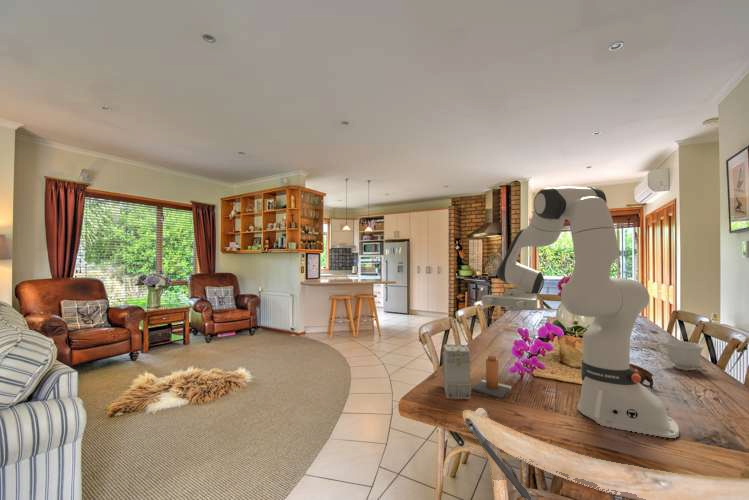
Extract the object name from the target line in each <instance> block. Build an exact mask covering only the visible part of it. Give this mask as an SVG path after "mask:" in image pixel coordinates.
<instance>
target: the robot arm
mask: <svg viewBox="0 0 749 500" xmlns="http://www.w3.org/2000/svg"><path fill="white" fill-rule="evenodd" d="M607 201H608V200H607V196H606V194H605V192H604V190H602V189H600V188H598V187H593V186H592V187H591V186H587V187H583V186H572V185H571V186H566V185H565V186H557V187H553V186H551V187H545V188H542V189H540V190H539V191H537V193H536V195H535V197H534V199H533V209H534V211H533V213H532V215H531V219H530V222H529V225H528V226H527V227H526V228H521V230H519V231H518V232H517V234H516V235H515V236H514V239H513V240H512V242H511V244H510V246H509V248H508V249H507V252H506V253H505V255H504V257H503V260H502V261H501V263H500V264H499V266H498V268H497V271H496V273H497V277H498V279H499V281H501V282H504V283H505V284H506V283H507V284H510V285H512V286H514V287H516V288H512V289H507V290H505V292H504V293H503V294H501V295H500V294H485V295H482V296H481V303H482V305H483V306H495V307H504V309H506V310H507V311H509V312H518V311H519V312H520V311H536V310H538V296H539V295H540V293H541V292H542V290H543V287H544V286H545V285H544V284H545V278H544V275H543V273H542V271H539V270H536V269H534V268H533V267H532V268H531V267H530V266H527V265H525V264H521V263H520V262H518V261H517V258H518V256H519V254H520V253H521V250H522V248H526V247H527V248H529V247H532V248H534V247H535V248H544V247H547V246H551V245H553V244H554V243H555V242H557V241H558V239H559V237H560V235H561V233H562V230H563V228H564V225H565V221H569V225H570V233H571V239H572V246H573V247H572V248H573V254H574V264H573V270H572V274H571V276H570V277H569V279H568V281H567V282H566V283H565V284H564V285H563V287H562V289H561V292H560V300H561V304H562V306H563V308H564V309H565V310H566V311H567V312H568V313H570V314H573V315H577V316H581V317H585V318H586V317H588V318H594V320H593V322H592V324H591V325H590V327H588V329H587V330H585V331H584V333H583V334H582V360H581V363H580V377H581V380H582V383H581V384H582V385H581V391H580V392H581V393H580V396H579V401H578V404H577V410H578V412H580V413H581V414H582V415H583V416H586V417H588V418H589V419H591V420H593V421H595V422H596V423H597V424H598V425H599V424H600V426H602V427H605V426H606V428H610V427H611V428H612V429H615V428H616V430H621V431H625V430H626V432H630V431H632V432H631V433H635V432H637V433H636V434H641V433H643V434H642V435H646V434H650V435H649V436H651V435H658V436H664V437H669V438H675V439H676V437H677V438H678V437H679V436H680V428H679V424H678V423H677V422H676V421H675V420H674V419H673V418H672V417H670V416H668V413H667V409H666V407H665V405H664V403H663V401H662V399H661V398H659V397H658V396H657V395H656V394H654V393H653V392H652V391H650V390H649V389H648V388H647V387H646V386H644V385H643V384H642V385H641V384H640V383H639V382H640V381H641V377H640V375H639V373H638V371H637V369H636V370H634V369H633V368H631V367H630V364H631V363H630V356H631V355H630V351H631V347H630V346H631V344H630V343H631V337H632V334H633V333H632V332H633V330H634V327H635V325H636V321H637V319H638V318H639V316H640V314H641V313H642V312H643V311H644V310H645V309H647V307H648V305H649V303H650V293H649V291H648V289H647V288H646V286H645V285H644V284H642V283H641V282H639V281H636V280H633V279H628V278H625V277H611V268H612V266H613V263H614V262H615V261H616V260H617V259H618V258H619V256H620V248H619V244H618V243H619V242H618V239H617V238H618V237H617V234H616V229H615V228H616V227H615V224H614V221H613V217H612V214H611V212H610V211H611V210H610V209H609V206H608V204H607V203H608V202H607ZM611 428H610V429H611Z"/></svg>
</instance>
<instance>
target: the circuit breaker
mask: <svg viewBox="0 0 749 500" xmlns="http://www.w3.org/2000/svg"><path fill="white" fill-rule="evenodd" d="M470 353H471V350H470V348H469V347H468V346H467V345H466V344H448V343H447V344H446V343H445V344H444V343H443V351H442V375H443V389H444V390H443V391H444V392H445V393H444V394H445V396H446V398H447V399H462V400H463V399H466V400H468V399H469V400H471V399H472V398H471V393H472V385H471V365H472V364H471V355H470Z"/></svg>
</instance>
